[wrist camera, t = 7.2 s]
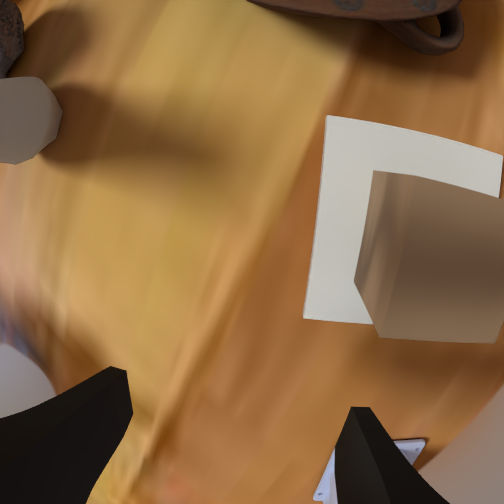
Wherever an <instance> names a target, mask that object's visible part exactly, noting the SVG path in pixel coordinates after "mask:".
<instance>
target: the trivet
mask: <svg viewBox="0 0 504 504" xmlns="http://www.w3.org/2000/svg"><path fill="white" fill-rule="evenodd" d="M502 162H503V156H502V155H499V154H496V153H493V152H490V151H487V150H484V149H481V148H477V147H474V146H471V145H467V144H464V143H461V142H457V141H453V140H450V139H446V138H442V137H438V136H434V135H430V134H426V133H422V132H418V131H413V130H409V129H404V128H400V127H395V126H390V125H385V124H380V123H374V122H368V121H363V120H357V119H350V118H344V117H337V116H329V115H327V116H326V121H325V134H324V146H323V157H322V168H321V178H320V188H319V197H318V206H317V215H316V223H315V231H314V239H313V247H312V254H311V262H310V269H309V276H308V283H307V290H306V296H305V303H304V309H303V318H306V319H316V320H326V321H338V322H350V323H362V324H373V322H372V320H371V318H370V316H369V313H368V311H367V309H366V307H365V305H364V303H363V300H362V298H361V296H360V294H359V292H358V290H357V288H356V286H355V284H354V276H355V272H356V267H357V262H358V257H359V252H360V247H361V242H362V237H363V231H364V226H365V220H366V214H367V208H368V202H369V196H370V189H371V182H372V175H373V170H375V171H384V172H392V173H400V174H407V175H415V176H420V177H424V178H428V179H432V180H436V181H440V182H444V183H448V184H452V185H456V186H459V187H463V188H467V189H470V190H474V191H477V192H481V193H484V194H487V195H491V196H494V197H497V198H499V191H500V183H501V173H502Z"/></svg>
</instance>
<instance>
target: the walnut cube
mask: <svg viewBox="0 0 504 504" xmlns="http://www.w3.org/2000/svg"><path fill="white" fill-rule="evenodd" d="M354 284H355V286H356V288H357V290H358V292H359V294H360V296H361V298H362V300H363V303H364V305H365V307H366V309H367V311H368V313H369V316H370V318H371V320H372V322H373V324H374V327H375V329H376V331H377V333H378V336H379V337H382V338H394V339H407V340H423V341H440V342H463V343H495V342H496V339H497V337H498V334H499V332H500V329H501V327H502V324H503V322H504V199H500V198H497V197H494V196H491V195H487V194H484V193H481V192H477V191H474V190H470V189H467V188H463V187H459V186H456V185H452V184H448V183H444V182H440V181H436V180H432V179H428V178H424V177H420V176H415V175H407V174H400V173H392V172H384V171H375V170H373V175H372V182H371V189H370V196H369V202H368V208H367V214H366V220H365V226H364V231H363V237H362V242H361V247H360V252H359V257H358V262H357V267H356V272H355V276H354Z"/></svg>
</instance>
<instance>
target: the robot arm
mask: <svg viewBox="0 0 504 504" xmlns="http://www.w3.org/2000/svg"><path fill="white" fill-rule="evenodd" d="M132 415H133V409H132V403H131V398H130V392H129V385H128V379H127V372H126V370H122V369H119V368H115V367H112V366H110V367H108V368H106V369H104V370H102V371H101V372H99V373H97V374H95V375H94V376H92V377H90V378H88V379H87V380H85V381H83V382H82V383H80V384H78V385H76V386H74V387H73V388H71V389H69V390H67V391H65V392H63V393H62V394H60V395H58V396H56V397H54V398H52V399H49V400H47V401H45V402H44V403H41V404H39V405H37V406H35V407H32V408H30V409H27V410H25V411H22V412H19V413H16V414H14V415H10V416H7V417H4V418H0V504H86V502H87V500H88V497H89V495H90V493H91V491H92V489H93V487H94V485H95V483H96V481H97V480H98V478H99V476H100V475H101V473H102V471H103V470H104V468H105V467H106V465H107V463H108V462H109V460H110V458H111V457H112V455H113V453H114V452H115V450H116V448H117V447H118V445H119V444H120V442H121V440H122V438H123V437H124V434H125V432H126V430H127V428H128V425H129V423H130V420H131V418H132ZM425 444H426V443H425V440H424V439H416V440H402V441H393V440H392V439H391V437H390V436H389V434H388V433H387V432H386V430H385V429H384V427H383V426H382V424H381V423H380V421H379V420H378V419H377V417H376V416H375V414H374V413H373V411H372V410H371V409H370V407H351V409H350V411H349V414H348V416H347V419H346V421H345V424H344V426H343V429H342V431H341V434H340V436H339V438H338V441H337V443H336V445H335V448H334V451H333V453H332V455H331V458H330V460H329V462H328V465H327V467H326V469H325V472H324V474H323V476H322V478H321V481H320V483H319V485H318V487H317V489H316V491H315V493H314V496H313V499H314V500H316V501H323V504H450V503H449V502H447V501H446V500H445V499H444V498H443V497H442V496H441V495H439V494H438V493H437V492H436V491H435V490H434V489H433V488H432V487H431V486H430V485H429V484H428V483H427V482H426V481H425V480H424V479H423V478H422V477H421V475H420V474H419V473H418V472H417V471H416V470H415V469H414V467H413V466H412V464H413V463H414V461H415V460H416V458H417V457H418V455H419V454H420V452H421V451H422V449H423V447H424V446H425Z"/></svg>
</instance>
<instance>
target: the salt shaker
mask: <svg viewBox="0 0 504 504" xmlns="http://www.w3.org/2000/svg"><path fill="white" fill-rule="evenodd" d="M62 114H63V111H62V109H61V107H60V105H59V103H58V101H57V99H56V97H55V95H54V94H53V92H52V91H51V90H50V89H49V88H48V87H47V86H46V84H45V83H44V82H43V81H42V80H41V79H39V78H37V77H15V78H5V79H0V162H1V163H9V164H19V163H22V162H24V161H27V160H29V159H31V158H33V157H34V156H35V155H36V154H38V153H39V152H40V151H41V150H42V149H43V148H44V147H46V146H47V145H48V144H49V143H50V142H52V141H53V140H54V139H56V138H57V133H58V129H59V125H60V121H61V117H62Z"/></svg>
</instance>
